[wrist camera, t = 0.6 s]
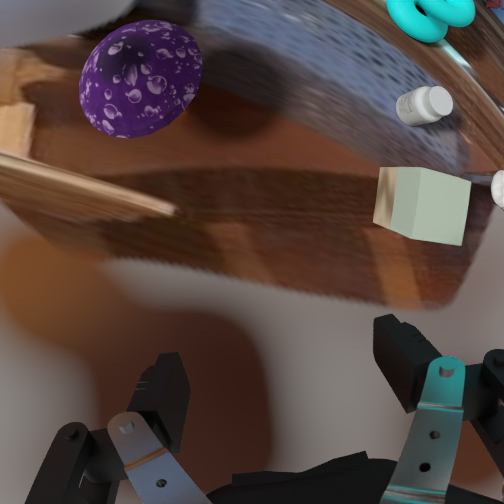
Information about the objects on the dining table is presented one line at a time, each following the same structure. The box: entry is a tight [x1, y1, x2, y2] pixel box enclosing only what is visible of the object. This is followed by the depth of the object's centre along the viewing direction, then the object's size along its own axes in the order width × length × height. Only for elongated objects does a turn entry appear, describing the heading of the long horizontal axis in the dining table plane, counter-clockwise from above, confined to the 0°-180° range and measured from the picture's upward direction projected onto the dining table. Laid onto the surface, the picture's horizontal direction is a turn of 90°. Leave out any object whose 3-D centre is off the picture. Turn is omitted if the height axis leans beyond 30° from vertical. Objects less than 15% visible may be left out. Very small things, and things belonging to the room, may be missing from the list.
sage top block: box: [390, 167, 471, 246], centre depth 29 cm, size 7×7×5 cm
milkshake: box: [460, 170, 504, 211], centre depth 31 cm, size 4×5×10 cm
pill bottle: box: [396, 86, 453, 126], centre depth 29 cm, size 4×4×8 cm
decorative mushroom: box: [79, 20, 203, 138], centre depth 25 cm, size 12×12×15 cm
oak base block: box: [373, 167, 398, 230], centre depth 34 cm, size 7×7×5 cm
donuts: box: [386, 0, 475, 43], centre depth 24 cm, size 10×10×10 cm
